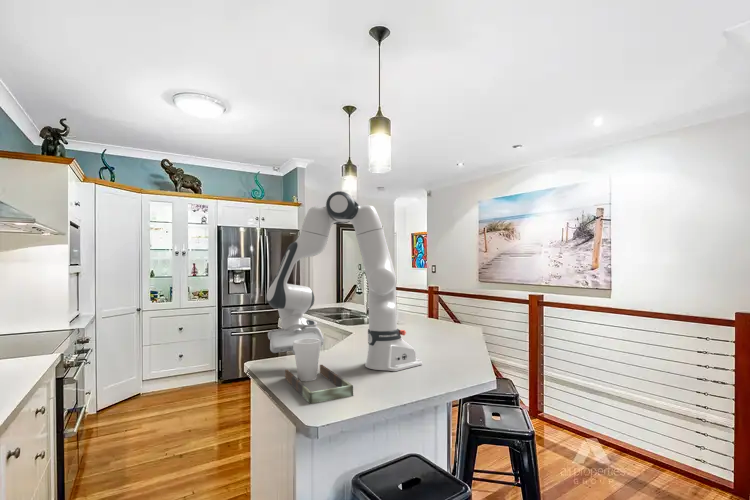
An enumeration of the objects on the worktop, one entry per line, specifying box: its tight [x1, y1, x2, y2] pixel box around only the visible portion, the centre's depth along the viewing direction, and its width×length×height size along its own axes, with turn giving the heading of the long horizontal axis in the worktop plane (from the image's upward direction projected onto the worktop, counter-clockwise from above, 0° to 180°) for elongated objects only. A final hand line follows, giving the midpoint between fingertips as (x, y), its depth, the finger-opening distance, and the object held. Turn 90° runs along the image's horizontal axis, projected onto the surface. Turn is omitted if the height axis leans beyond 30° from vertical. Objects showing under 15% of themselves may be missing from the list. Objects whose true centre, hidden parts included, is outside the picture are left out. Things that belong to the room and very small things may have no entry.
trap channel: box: [284, 364, 354, 405], centre depth 123 cm, size 14×28×3 cm, turn 28°
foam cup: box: [293, 338, 322, 382], centre depth 132 cm, size 10×9×13 cm
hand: (301, 358), depth 139 cm, fingers closed
